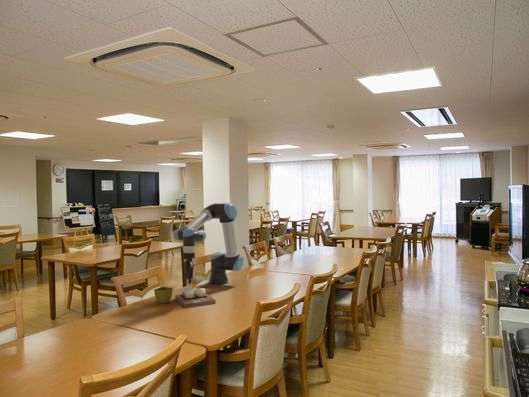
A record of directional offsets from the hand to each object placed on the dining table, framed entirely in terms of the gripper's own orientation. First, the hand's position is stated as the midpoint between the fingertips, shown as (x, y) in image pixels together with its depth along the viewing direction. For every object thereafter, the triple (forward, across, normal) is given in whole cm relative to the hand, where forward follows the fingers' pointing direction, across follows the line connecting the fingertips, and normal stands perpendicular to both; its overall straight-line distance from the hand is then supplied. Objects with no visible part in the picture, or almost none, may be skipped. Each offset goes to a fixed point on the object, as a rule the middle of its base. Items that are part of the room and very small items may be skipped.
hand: (189, 288), depth 256 cm
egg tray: (+9, -1, +4) cm, 10 cm away
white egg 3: (+6, 0, +8) cm, 10 cm away
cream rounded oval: (+6, 0, 0) cm, 6 cm away
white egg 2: (+8, -8, +8) cm, 14 cm away
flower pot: (+9, -8, -15) cm, 19 cm away
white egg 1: (+6, -8, 0) cm, 10 cm away
